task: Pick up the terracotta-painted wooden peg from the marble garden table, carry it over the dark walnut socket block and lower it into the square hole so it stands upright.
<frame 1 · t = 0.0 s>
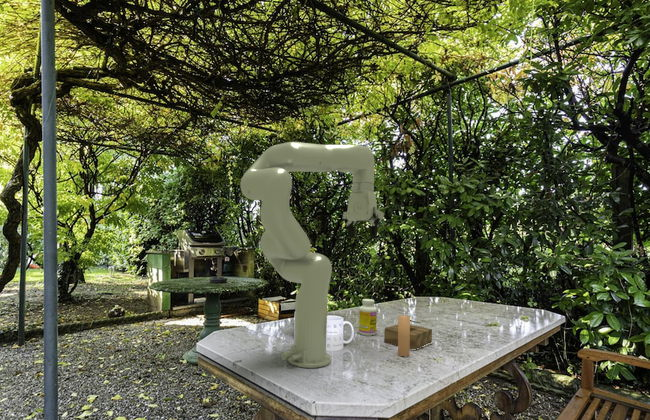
hand: (361, 237, 128), 37 cm above the table, tool pointing down, fingers open, 9 cm apart
peg: (403, 355, 115), on the table
socket block: (408, 343, 129), on the table
supplement bottle: (367, 334, 140), on the table
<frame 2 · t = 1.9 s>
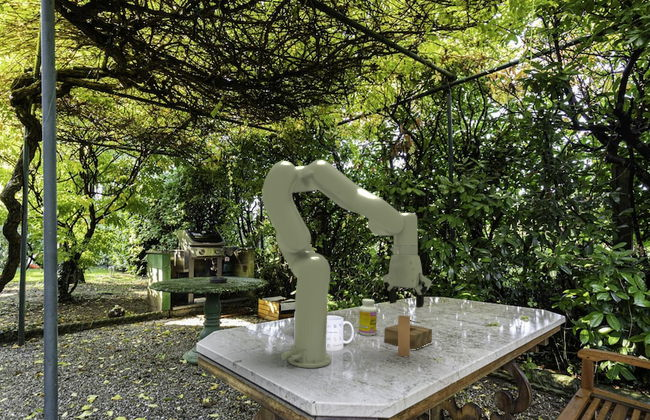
hand: (406, 305, 117), 16 cm above the table, tool pointing down, fingers open, 9 cm apart
nothing on the table moved.
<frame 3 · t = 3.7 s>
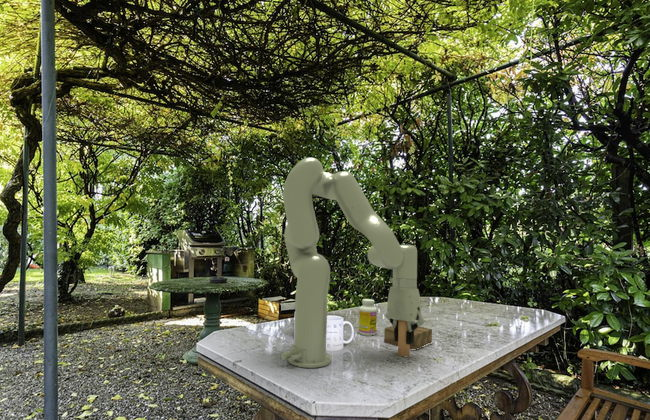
hand: (403, 341, 116), 4 cm above the table, tool pointing down, fingers closed on peg, 3 cm apart
peg: (403, 355, 115), on the table, touching gripper
everything else where it was.
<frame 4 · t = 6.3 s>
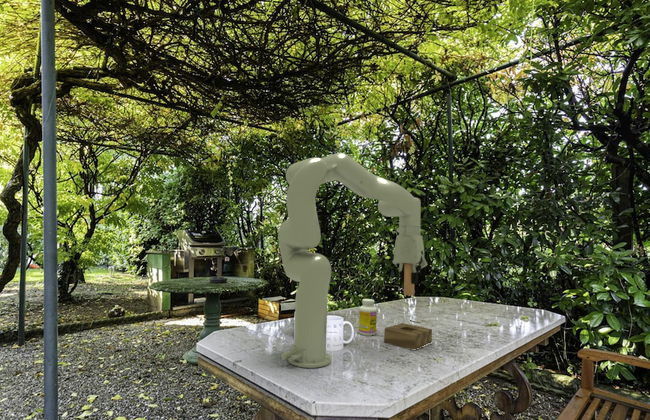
hand: (409, 282, 130), 21 cm above the table, tool pointing down, fingers closed on peg, 3 cm apart
peg: (409, 294, 130), point 17 cm above the table, touching gripper
everything else where it was.
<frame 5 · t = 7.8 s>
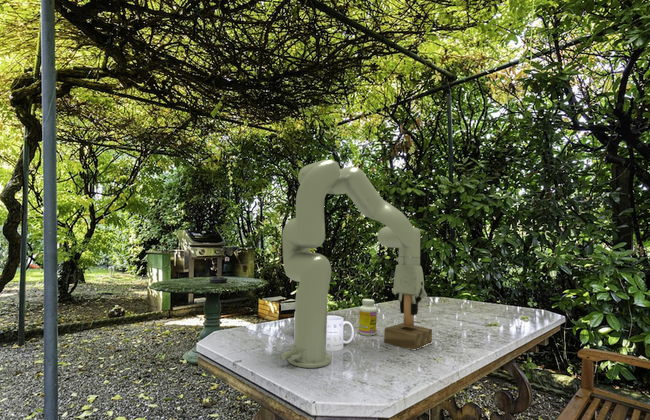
hand: (408, 313, 130), 10 cm above the table, tool pointing down, fingers closed on peg, 3 cm apart
peg: (408, 325, 130), point 6 cm above the table, touching gripper
everything else where it was.
when the fingers open (6 cm above the table, at t = 8.9 s): peg drops 2 cm, resting in socket block.
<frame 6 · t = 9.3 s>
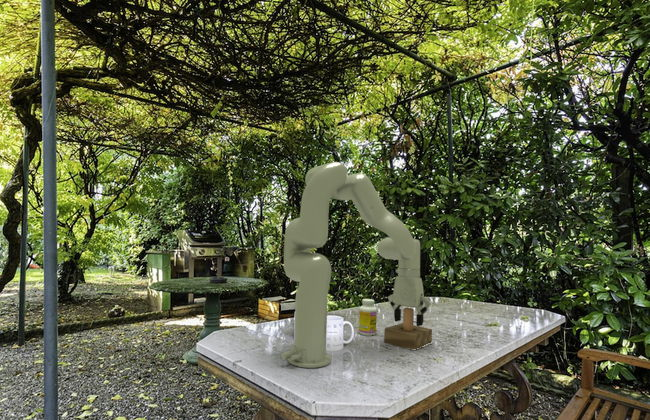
hand: (408, 322, 130), 7 cm above the table, tool pointing down, fingers open, 8 cm apart
peg: (408, 343, 129), resting in socket block
everything else where it was.
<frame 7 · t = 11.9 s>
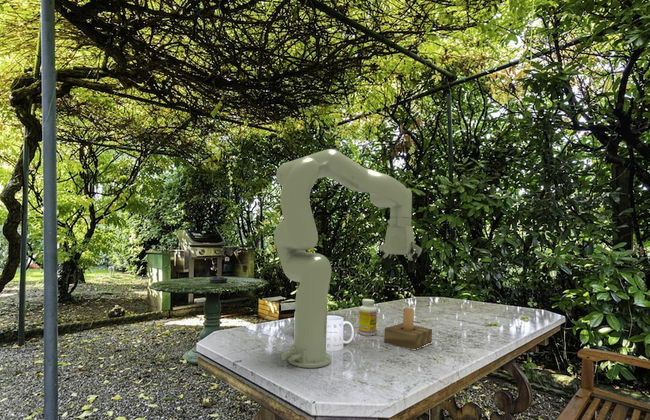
hand: (398, 270, 131), 25 cm above the table, tool pointing down, fingers open, 9 cm apart
nothing on the table moved.
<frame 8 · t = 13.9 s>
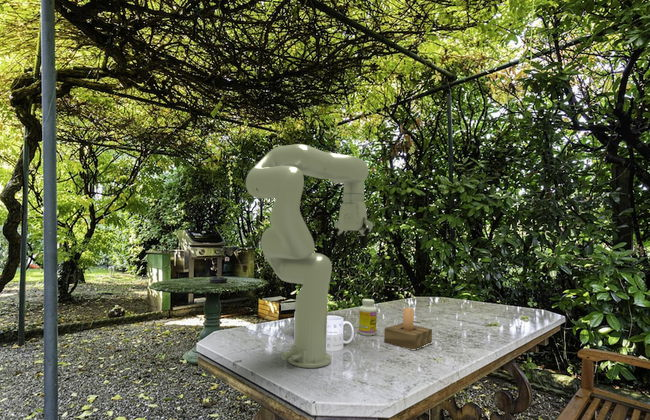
hand: (352, 246, 132), 33 cm above the table, tool pointing down, fingers open, 9 cm apart
nothing on the table moved.
at the end: peg 0.0 cm off-centre on the socket block, point 0.0 cm above the socket block's base; peg tilted 0°; the gripper is holding nothing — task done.
